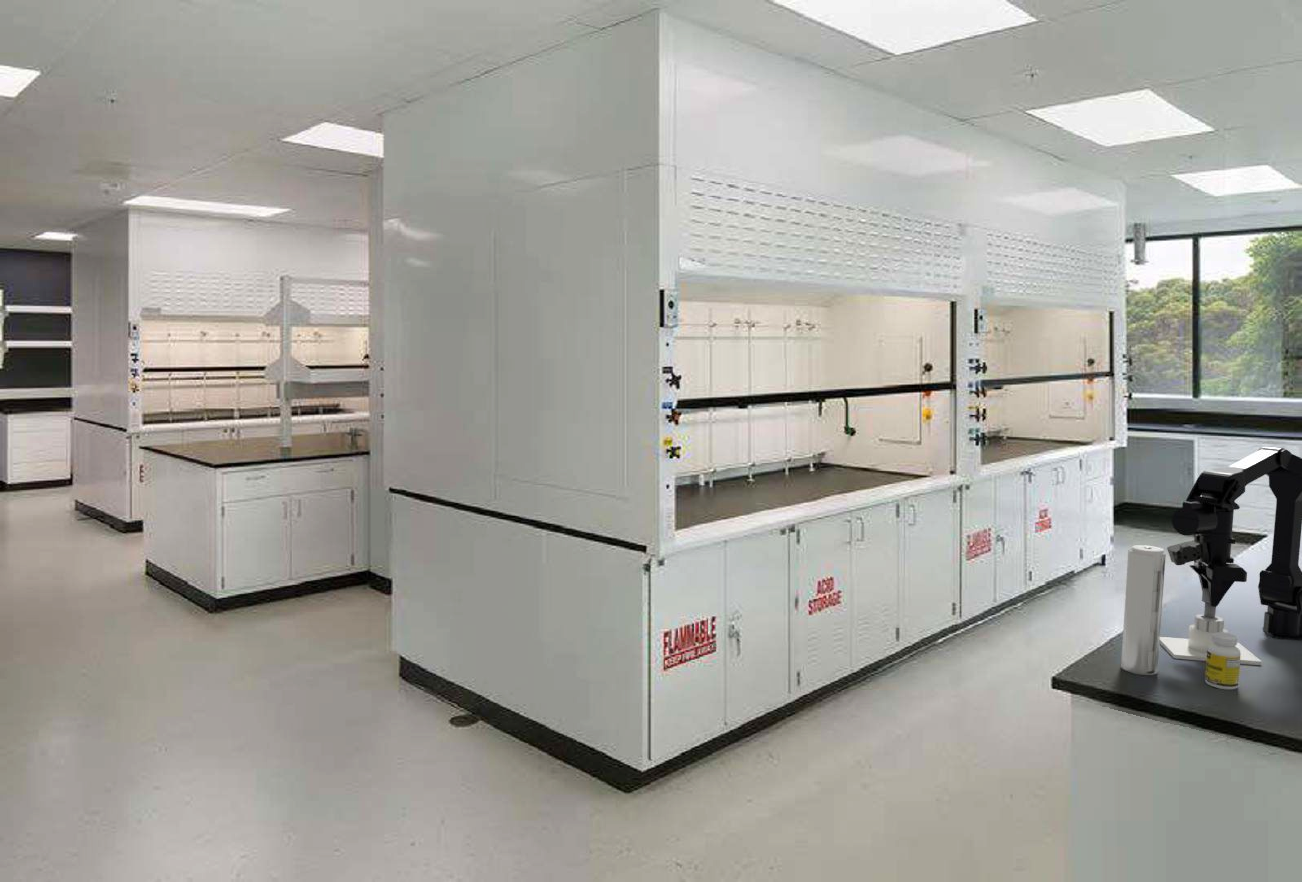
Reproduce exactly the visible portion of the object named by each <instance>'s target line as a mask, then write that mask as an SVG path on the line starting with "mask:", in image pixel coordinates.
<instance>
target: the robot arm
mask: <svg viewBox="0 0 1302 882" xmlns="http://www.w3.org/2000/svg"><path fill="white" fill-rule="evenodd" d="M1264 476H1267V477H1268V487H1269V490H1271V492H1272V494H1273V495H1274V497H1275V499H1276V502H1275V503H1276V504H1275V515H1274V527H1273V528H1274V530H1273V538H1272V551H1271V560H1270V561H1271V562H1270V564H1269V565H1268V566H1266V568H1265V569H1262V570H1261V571H1260V572H1259V582H1258V585H1257V588H1258V594H1259V601H1260V602H1259V603H1260V605H1261V606H1267V609H1266V610H1267V611H1265V612H1264V618H1263V627H1262V630H1263V631H1264V632H1266V633H1267V635H1270V636H1271V637H1272V638H1274V639H1275V638H1276V639H1287V640H1298V641H1299V640H1301V641H1302V569H1301V568H1300V565H1299V561H1300V549H1301V538H1302V457H1300V456H1298V455H1295V454H1293V453H1292V452H1291V451H1290V450H1288V449H1286V448H1284V447H1274V446H1263V447H1260V448H1259V449H1258V450H1257V451H1256V452H1254V453H1251V454H1250V455H1248V456H1247V457H1245V458H1243V459H1241V460H1239V461H1237V462H1235V463H1233V464H1231V465H1229V466H1226V467H1224V466H1223V467H1215V468H1214V467H1213V468H1210V469H1207V470H1204V471H1202V472H1201V473H1200V474H1199V475H1198V477H1197V479H1196V480H1195V483H1194V485H1193V486H1192V488H1191V490H1190V492H1189V494H1188V496H1187V497H1186V499H1185V501H1183V502H1182V505H1181V506H1182V507H1180V508H1178V509H1176V510H1175V512H1173V515H1172V517H1171V524H1172V527H1173V529H1174V530H1175V531H1176V532H1177V533H1178V534H1179V535H1182V536H1186V537H1187V536H1194V539H1193V540H1190V541H1183V542H1181V543H1177V544H1176V543H1175V544H1173V545H1169V546H1167V547H1166V549H1167V552H1168V555H1169V557H1170V561H1171V562H1172V563H1174V564H1175V565H1176V566H1182V565H1183V566H1184V565H1186V563H1191V562H1193V565H1191V564H1190V565H1189V567H1190V568H1191V569H1192V570H1193V571H1194V573H1196V575H1198V579H1199V583H1200V588H1201V591H1202V590H1203V588H1209V597H1210V605H1211V606H1212V607H1216V608H1217V607H1218V606H1219V604H1220V603H1221V601H1222V600H1223V598H1224V597H1225V595H1226V594H1227V593H1228V591H1229V590H1230V588H1231V587H1232V586H1233V585H1234V583H1235V582H1237V583H1247V580H1248V579H1247V578H1248V572H1247V571H1246V570H1245V569H1244V568H1243V567H1241V566H1240V565H1239V564H1237V563H1234V562H1235V558H1233V557H1232V556H1231V552H1232V544H1233V545H1234V544H1236V538H1233V525H1234V514H1235V513H1234V511H1235V510H1240V508H1241V506H1240V505H1239V504H1238V503H1237V502H1235V501H1237V499H1238V498H1240V497H1241V496H1242V495H1243V494H1245V492H1246V486H1247V485H1249V484H1251V483H1252V482H1255V481H1256V480H1258V479H1260V478H1261V477H1264Z"/></svg>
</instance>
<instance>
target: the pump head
mask: <svg viewBox="0 0 1302 882" xmlns="http://www.w3.org/2000/svg"><path fill="white" fill-rule="evenodd" d="M1201 592H1202V593H1201V602H1203V603H1204V609H1203V610H1204V612H1203V614H1204V617H1206V618H1215V616H1216V612H1217V611H1216V610H1217V609H1216V608H1217V607H1212V606H1211V605H1210V597H1209V588H1203V590H1202V589H1201Z"/></svg>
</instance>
